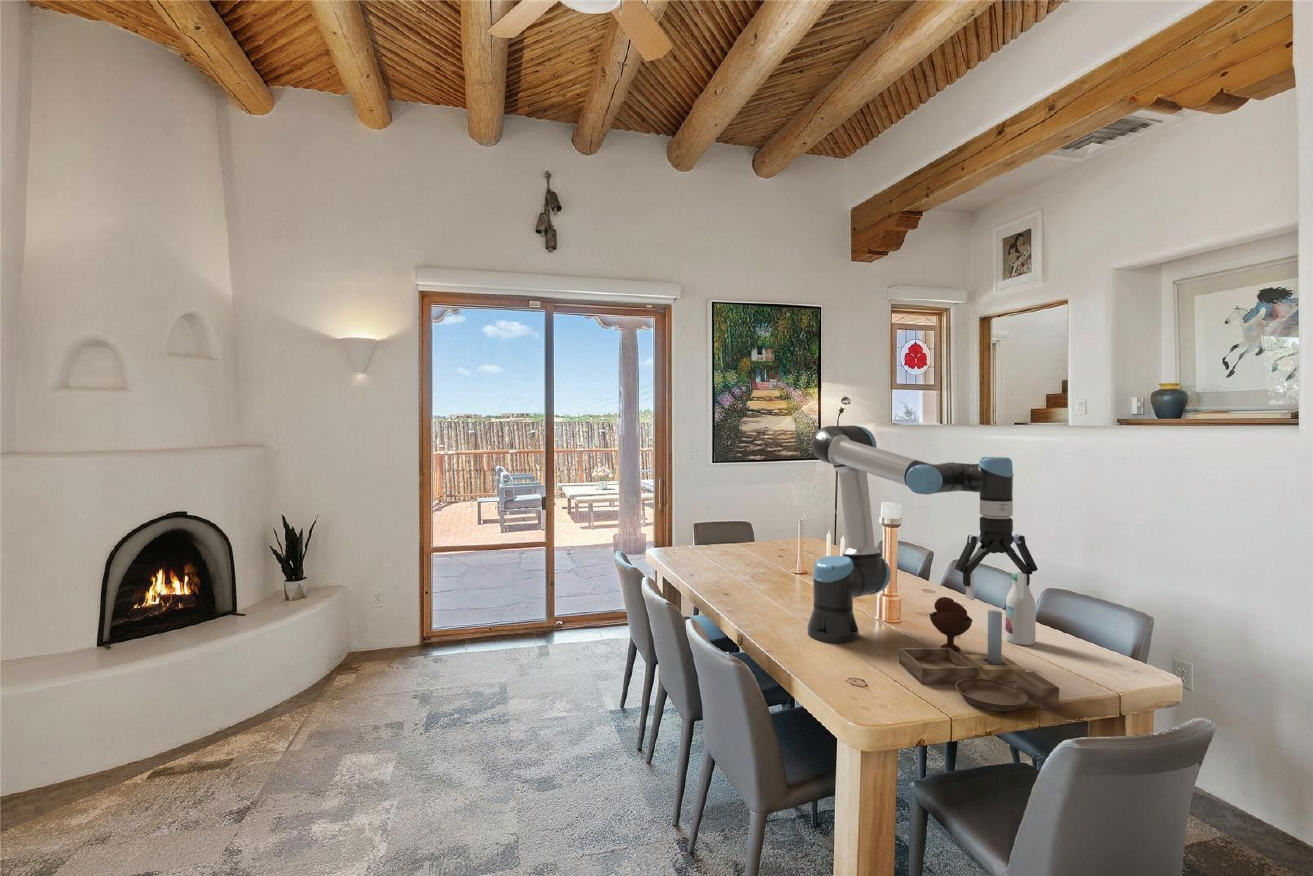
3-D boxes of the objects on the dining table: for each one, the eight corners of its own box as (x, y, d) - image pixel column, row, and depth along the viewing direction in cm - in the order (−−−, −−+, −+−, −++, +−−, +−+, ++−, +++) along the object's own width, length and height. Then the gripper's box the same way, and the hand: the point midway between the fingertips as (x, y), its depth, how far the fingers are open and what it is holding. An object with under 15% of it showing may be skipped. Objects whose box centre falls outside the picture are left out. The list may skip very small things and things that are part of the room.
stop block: (1041, 709, 140) (1041, 687, 139) (1017, 692, 149) (1017, 671, 148) (1058, 709, 140) (1058, 687, 140) (1033, 692, 149) (1033, 671, 149)
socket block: (985, 681, 155) (986, 669, 155) (965, 665, 165) (965, 654, 165) (1025, 681, 155) (1025, 669, 155) (1002, 665, 165) (1002, 654, 165)
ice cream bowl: (955, 659, 170) (955, 605, 169) (921, 646, 180) (921, 595, 179) (980, 652, 174) (980, 600, 174) (945, 640, 184) (946, 590, 184)
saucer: (952, 684, 154) (952, 674, 154) (1020, 693, 148) (1020, 682, 148) (959, 710, 140) (959, 698, 140) (1034, 721, 135) (1034, 709, 134)
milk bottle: (1038, 641, 184) (1038, 574, 183) (1032, 648, 178) (1032, 579, 178) (1009, 635, 189) (1009, 570, 189) (1002, 641, 183) (1002, 575, 183)
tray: (921, 684, 153) (921, 668, 153) (898, 662, 167) (898, 648, 167) (977, 684, 153) (977, 668, 153) (949, 662, 167) (949, 647, 167)
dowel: (991, 675, 158) (992, 614, 158) (984, 670, 162) (985, 610, 161) (1003, 675, 158) (1004, 614, 158) (996, 670, 162) (997, 610, 161)
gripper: (955, 519, 155) (955, 603, 155) (1053, 518, 156) (1053, 602, 156) (941, 515, 163) (941, 595, 163) (1034, 514, 163) (1034, 594, 163)
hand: (996, 598), depth 159 cm, fingers open, 13 cm apart
